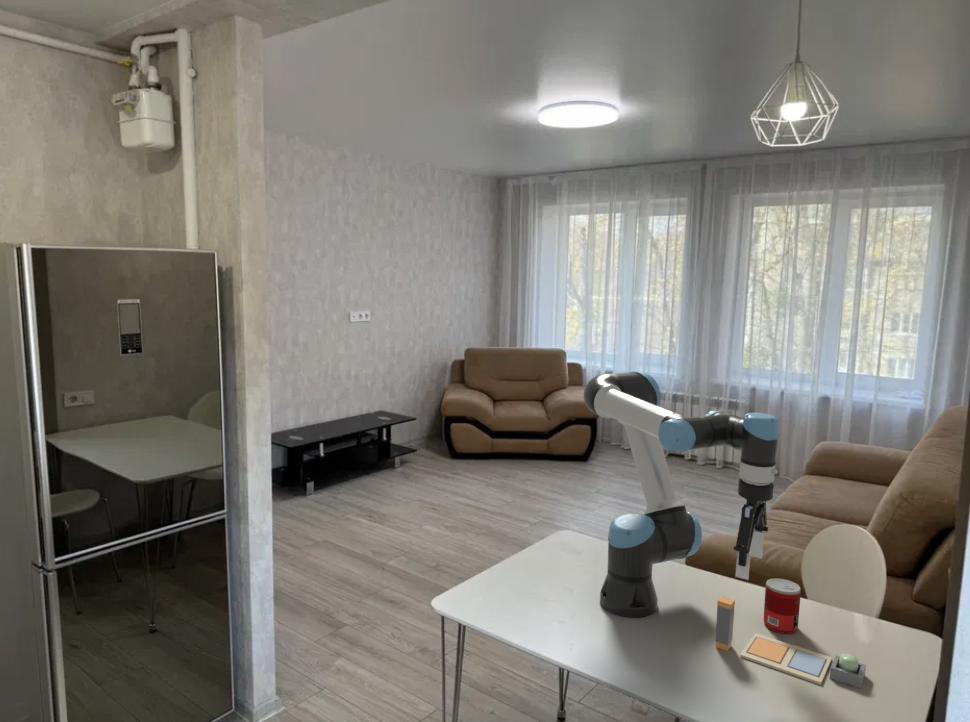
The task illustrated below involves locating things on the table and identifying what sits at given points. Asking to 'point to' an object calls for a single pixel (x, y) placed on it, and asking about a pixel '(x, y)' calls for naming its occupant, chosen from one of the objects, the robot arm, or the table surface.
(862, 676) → the button collar
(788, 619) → the canned food
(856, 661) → the button
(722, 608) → the marker
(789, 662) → the sheet
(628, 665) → the table surface
